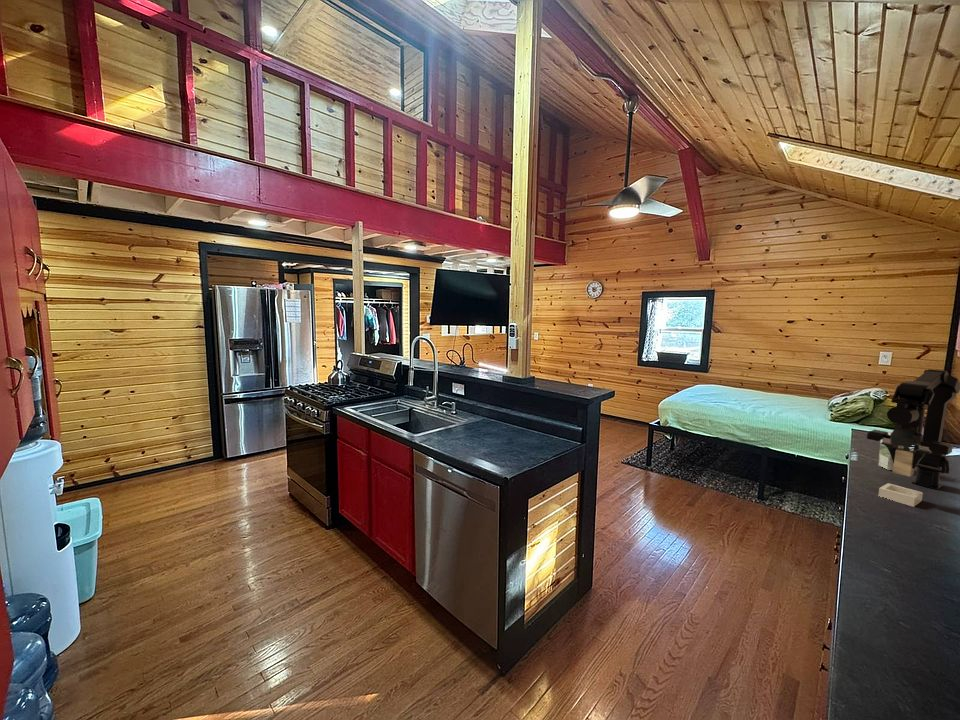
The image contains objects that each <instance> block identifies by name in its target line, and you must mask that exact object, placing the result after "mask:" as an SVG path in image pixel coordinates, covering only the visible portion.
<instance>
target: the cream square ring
mask: <svg viewBox="0 0 960 720" xmlns="http://www.w3.org/2000/svg"><path fill="white" fill-rule="evenodd" d="M923 494H924V493H923V492H922V491H919V490H915V489H911V488H908V487H903V486H900V485H897V484H893V483H889V482H888V483H886V484H884V485H882V486H880V487H879V489H878V494H877V495H878V497H879V496H880V497H879V498H882V497H884V498H883V499H885V498H887V499H886V500H889V499H890V501H892V500H893V502H897V503H900V504H903V505H907V506H909V507H913V508H914V507H916V506H917V505H918V504H920V503H921V502H923V501H922V500H923Z"/></svg>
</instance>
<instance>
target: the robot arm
mask: <svg viewBox="0 0 960 720" xmlns="http://www.w3.org/2000/svg"><path fill="white" fill-rule="evenodd" d="M959 393H960V381H959V379H958V378H957V377H955V376H953V375H951V374H949V372H948V371H946V370H943V369H942V370H941V369H931V368H929V369H924V372H923V373H922V374H921V375H919V376H918V377H917V378H915V379H913V380H906V381H903V382H901V383H900V384H899V385H897V386H896V389H895V391H894V394H893V396H892V398H891V404H896V406H894V407H891V408H889V410H888V411H887V412H886V417H887V419H888V420H889V421H890V422H891V423H893V424H895V428H894V430H893V431H892V432H890V433H891V434H890V435H888V431H884V430H880V429H873V430H869V431H868V432H867V434H866V439H867V440H871V441H875V442H879V441H880V443H881V444H883V445H885V446H886V447H887V448H888V450H889V452H890V454H891V457H892V460H893V463H894V459H895V452H896V449H898V445H901V446H904V447H908V448H911V447H913V449H912V450H913V451H916V454H915V458H914V461H913V465H912V468H913V469H914V470H915V468H916V475H915V479H914V480H912V481H911V484H914V485H918V486H921V487H922V486H923V487H927V488H929V489H933V490H939V489H940V488H941V487H943V484H941V483H940V480H941V474H950V471H951V470H950V469H951V467H950V461H949V459H948V457H947V456H948V455H950V454H952V453H953V445H952V444H951V443H948V442H943V441H942V438H943V433H944V432H943V431H944V427H945V421H946V415H947V409H948V404H949V403H951V401H954V399H956V397H957V394H959ZM926 407H927V411H926ZM925 412H926V417H925ZM924 418H925V420H924ZM924 421H925V422H924ZM923 427H924V428H923ZM882 439H883V440H882ZM881 440H882V442H881Z"/></svg>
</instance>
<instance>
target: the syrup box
mask: <svg viewBox="0 0 960 720" xmlns="http://www.w3.org/2000/svg"><path fill="white" fill-rule="evenodd" d="M887 432H888V431H887ZM891 433H892V432H891V431H890V432H888V435H890V434H891ZM882 440H883V439H882ZM882 440H880V442H879V443H880V445H879V453H878V462H877V466H878V467H880V468H882V467H883V469H884V468H885V469H884V470H886V469H887V470H886V471H888V470H892V471H891V472H893V467H894V463H893V460H892V457H891V454H890V452H889V450H888V448H887V447H886V446H885V445H883V444H881V442H882ZM903 447H904V446H901V445H898V448H903Z"/></svg>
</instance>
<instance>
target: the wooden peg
mask: <svg viewBox="0 0 960 720" xmlns="http://www.w3.org/2000/svg"><path fill="white" fill-rule="evenodd" d="M913 450H914V449H911V447H903V448H898V449H896V452H895V459H894V467H893V471H892V473H893V474H897V475H902V476H905V477H912V476H913V475H914V474H915V468H914V469H913V468H912V465H913V461H914V458H915V454H916V451H913Z"/></svg>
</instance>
